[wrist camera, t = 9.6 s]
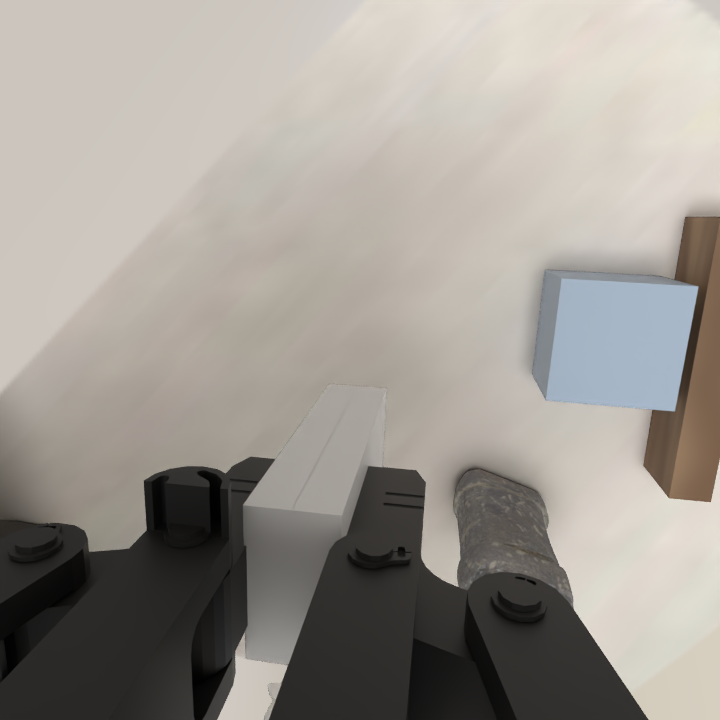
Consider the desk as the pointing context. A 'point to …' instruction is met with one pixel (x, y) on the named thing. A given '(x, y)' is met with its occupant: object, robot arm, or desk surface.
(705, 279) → the board
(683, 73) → the desk surface
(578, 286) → the block
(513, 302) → the desk surface
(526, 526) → the stone
